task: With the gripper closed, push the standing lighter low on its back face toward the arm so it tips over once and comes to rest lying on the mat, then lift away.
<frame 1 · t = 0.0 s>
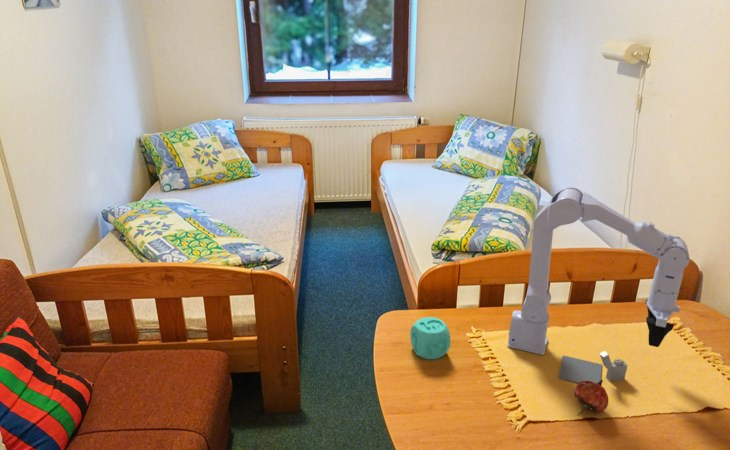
hand: (653, 337, 135), 10 cm above the table, tool pointing down, fingers open, 7 cm apart
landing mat: (580, 371, 139), on the table
lighter: (609, 379, 136), on the table
decorative dice: (429, 351, 147), on the table
pomegranate: (588, 410, 126), on the table
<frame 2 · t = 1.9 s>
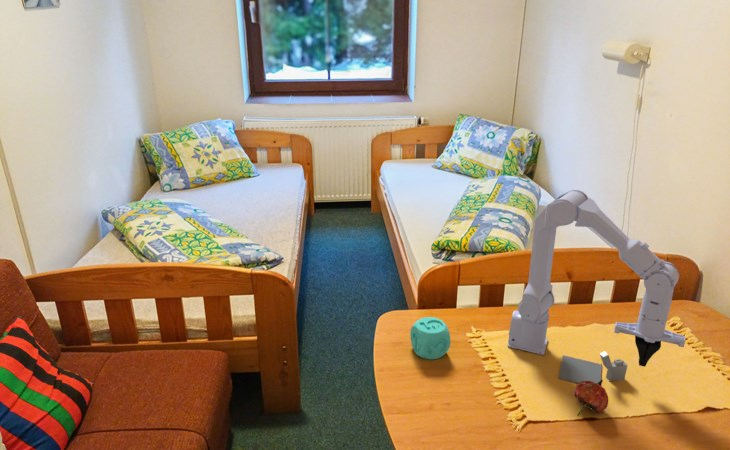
hand: (641, 363, 131), 6 cm above the table, tool pointing down, fingers closed
nothing on the table moved.
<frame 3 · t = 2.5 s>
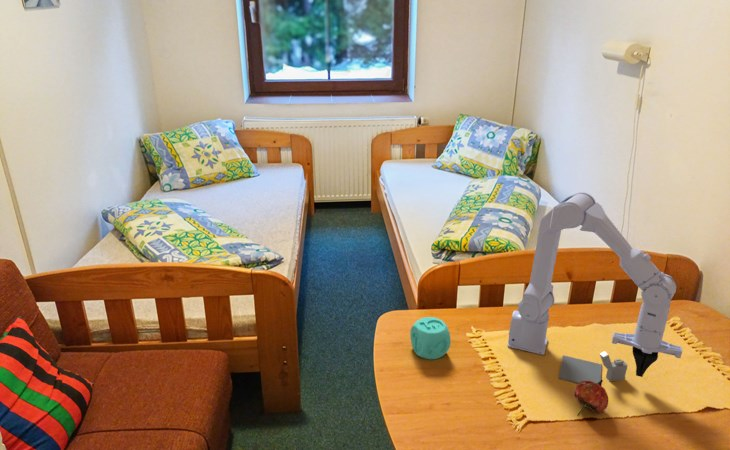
hand: (639, 374, 133), 3 cm above the table, tool pointing down, fingers closed
nothing on the table moved.
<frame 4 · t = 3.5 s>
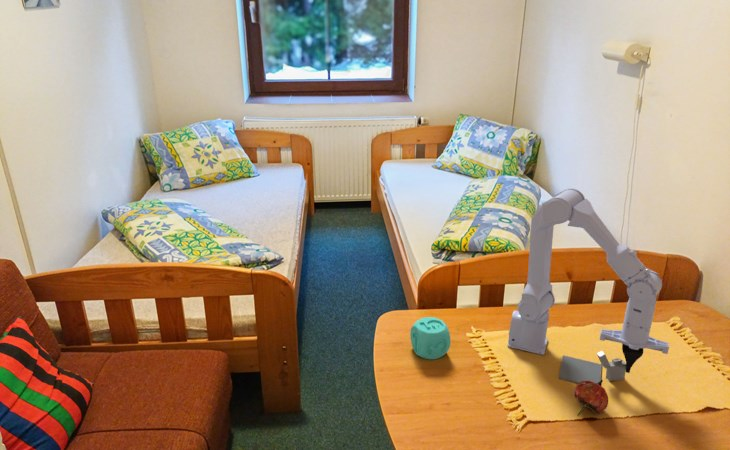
hand: (627, 370, 133), 4 cm above the table, tool pointing down, fingers closed, pressing on lighter
lighter: (609, 379, 136), on the table, touching gripper
everything else where it was.
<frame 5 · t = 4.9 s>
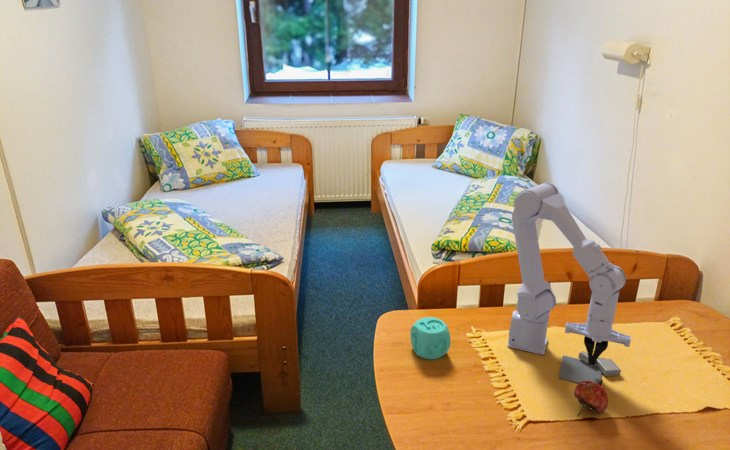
hand: (591, 362, 137), 3 cm above the table, tool pointing down, fingers closed
lighter: (607, 373, 136), point 1 cm above the table, touching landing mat
everything else where it was.
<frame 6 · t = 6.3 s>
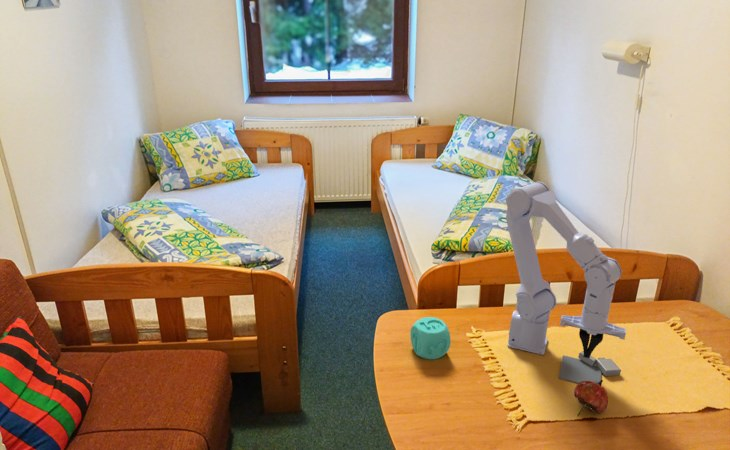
hand: (586, 355, 136), 5 cm above the table, tool pointing down, fingers closed
nothing on the table moved.
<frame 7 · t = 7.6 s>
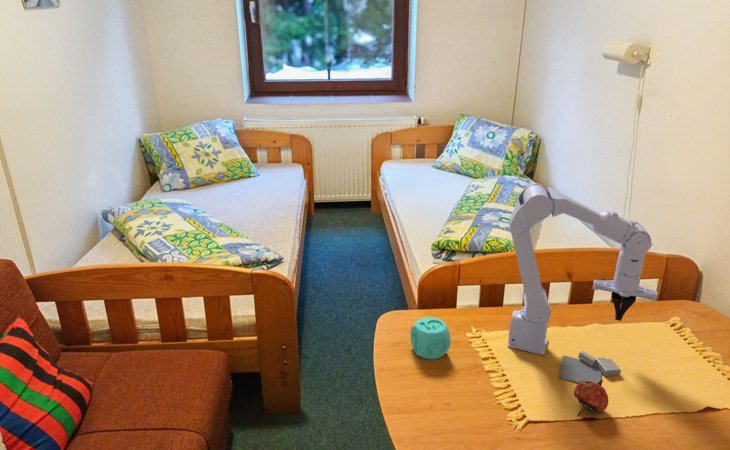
hand: (618, 318, 142), 10 cm above the table, tool pointing down, fingers closed
nothing on the table moved.
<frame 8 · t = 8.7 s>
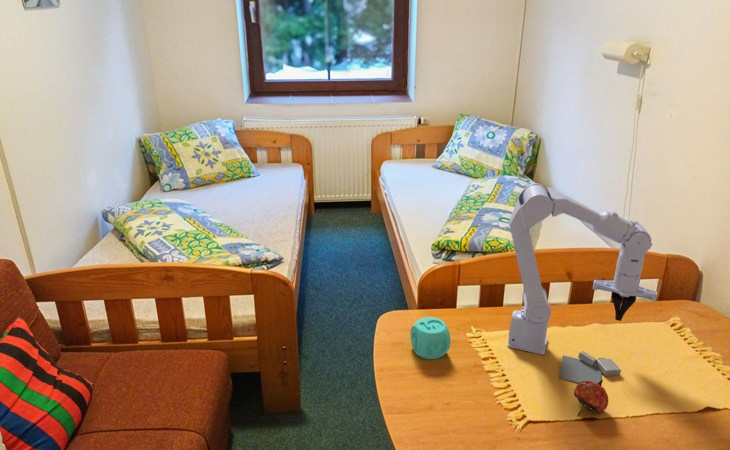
hand: (618, 318, 142), 10 cm above the table, tool pointing down, fingers closed
nothing on the table moved.
at the end: lighter tilted 88°; lighter inside the target area (2.9 cm from its centre), point 1.0 cm above the table; the gripper is holding nothing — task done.
